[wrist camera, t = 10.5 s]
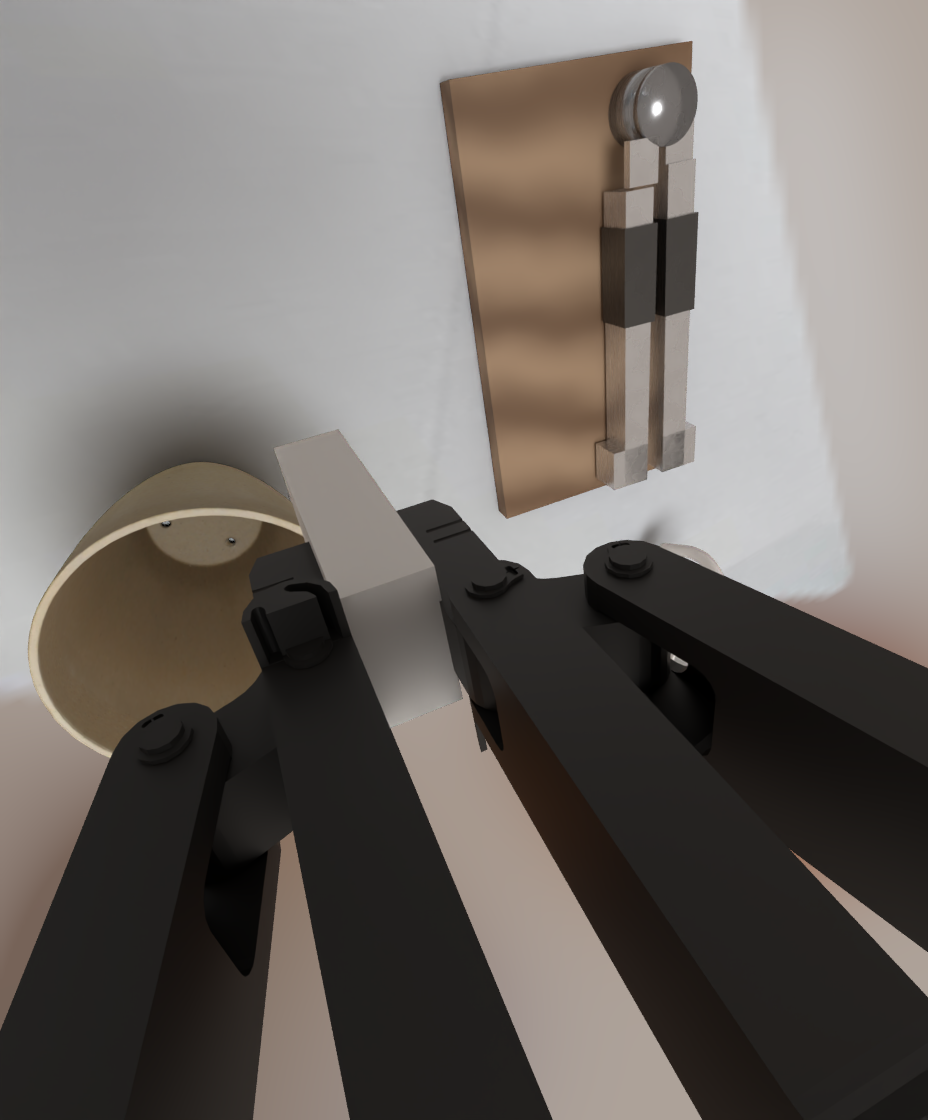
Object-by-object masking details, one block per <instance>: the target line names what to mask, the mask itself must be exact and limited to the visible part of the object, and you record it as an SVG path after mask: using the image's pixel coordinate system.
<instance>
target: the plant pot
mask: <svg viewBox="0 0 928 1120" xmlns="http://www.w3.org/2000/svg"><path fill="white" fill-rule="evenodd" d="M166 521H169V522H170V523H171V524H170V526H168V527H166V526H162V522H166ZM229 538H233V539H234V540H235V543H231V542H230V541H229ZM303 543H305V540H304V537H303V534H302V531H301V528H300V525H299V522H298V519H297V516H296V513H295V510H294V507H293V504H292V502H291V501H289V500H288V499H287V498H285V497H284V496H283V495H282V494H280V493H279V492H278V491H276V490H275V489H273V488H272V487H270V486H269V485H267V484H266V483H264V482H263V481H261V480H259V479H257V478H255V477H253V476H251V475H250V474H248V473H246V472H243V471H241V470H239V469H236V468H233V467H230V466H227V465H222V464H218V463H211V462H193V463H187V464H182V465H178V466H175V467H172V468H169V469H166V470H164V471H162V472H160V473H158V474H156V475H154V476H152V477H150V478H148V479H147V480H145V481H144V482H142V483H141V484H139V485H138V486H136V487H135V488H134V489H132V490H131V491H129V492H128V493H127V494H126V495H124V496H123V497H122V498H121V499H120V500H118V501H117V502H116V503H115V504H114V505H113V506H112V507H111V508H109V510H108V511H107V512H106V513H105V514H104V515H103V516H102V517H101V518H100V519H99V520H98V521H97V522H96V523H95V524H94V525H93V527H92V528H91V529H90V530H89V531H88V533H87V534H86V535H85V536H84V537H83V539H82V540H81V541H80V542H79V544H78V545H77V546H76V548H75V549H74V551H73V552H72V553H71V555H70V556H69V558H68V559H67V560H66V562H65V563H64V565H63V566H62V568H61V569H60V571H59V572H58V574H57V575H56V577H55V578H54V580H53V581H52V583H51V584H50V586H49V587H48V589H47V590H46V592H45V594H44V595H43V597H42V599H41V601H40V603H39V605H38V607H37V609H36V612H35V615H34V617H33V621H32V625H31V629H30V634H29V642H28V660H29V667H30V673H31V676H32V679H33V683H34V686H35V688H36V691H37V693H38V695H39V697H40V699H41V700H42V702H43V704H44V705H45V707H46V708H47V709H48V711H49V712H50V714H51V715H52V716H53V718H54V719H55V720H56V721H57V722H58V723H59V724H60V726H62V727H63V728H64V729H65V730H66V731H67V732H68V733H69V734H70V735H71V736H73V737H74V738H76V739H77V740H78V741H80V742H81V743H83V744H84V745H86V746H87V747H89V748H91V749H92V750H95V751H96V752H98V753H100V754H103V755H105V756H107V757H109V758H111V755H112V753H113V751H114V750H115V748H116V746H117V745H118V743H119V742H120V740H121V738H122V737H123V736H124V735H125V734H126V733H127V732H128V731H129V730H130V729H131V728H132V727H133V726H134V725H136V724H137V723H138V722H139V721H141V720H142V719H144V718H146V717H147V716H149V715H151V714H152V713H154V712H156V711H157V710H160V709H163V708H166V707H169V706H172V705H175V704H181V703H194V702H195V703H198V704H202V705H205V706H208V707H209V708H210V709H211V710H212V711H213V712H215V711H217V710H219V709H220V708H222V707H223V706H225V705H227V704H228V703H230V702H232V701H233V700H234V699H236V698H237V697H238V696H240V695H241V694H243V693H244V692H245V691H246V690H247V689H248V688H249V687H250V686H251V685H252V684H253V683H254V682H255V681H256V679H257V678H258V676H259V675H260V673H261V672H262V670H261V667H260V665H259V663H258V660H257V658H256V656H255V653H254V651H253V649H252V647H251V644H250V642H249V640H248V638H247V635H246V633H245V631H244V628H243V626H242V624H241V621H242V615H243V611H244V610H245V608H246V607H247V606H248V604H249V603H250V602H251V600H252V599H253V593H252V589H251V584H250V579H249V574H250V572H251V570H252V568H253V565H254V563H255V561H256V559H257V558H259V557H262V556H266V555H269V554H272V553H275V552H278V551H281V550H284V549H287V548H290V547H293V546H296V545H300V544H303Z"/></svg>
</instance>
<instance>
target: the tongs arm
mask: <svg viewBox="0 0 928 1120" xmlns="http://www.w3.org/2000/svg"><path fill="white" fill-rule="evenodd" d="M696 109H697V87H696V83H695V80H694V78H693V76H692V74H691V72H690V71H689V70H688V69H687V68H686V67H685V66H684V65H682V64H680V63H676V62H670V63H665V64H661V65H658V66H656V67H654V68H653V69H651V70H650V71H649V72H648V73H647V74H646V75H645V76H644V78H643V79H642V81H641V83H640V84H639V87H638V89H637V92H636V95H635V99H634V105H633V119H634V124H635V128H636V131H637V133H638V135H639V136H640V138H641V139H636V140H630V141H624V188H621V189H616V190H611V191H606V192H603V193H604V227H601V239H602V301H603V322H605V335H606V406H607V440H606V441H603V442H599V443H596V471H597V479H598V480H600V481H601V482H603V483H604V484H606V485H607V486H609V487H610V488H612V489H613V490H616V489H619V488H622V487H625V486H628V485H631V484H634V483H637V482H640V481H643V480H647V463H648V420H649V376H650V333H651V322H653V321H655V304H656V266H657V228H658V222H653V202H654V187H639V186H644V185H649V184H655V183H658V161H659V147H667V146H671V145H673V144H675V143H677V142H678V141H679V140H681V139H682V138H683V137H684V136H685V134H686V133H687V132H688V130H689V128H690V127H691V125H692V122H693V120H694V117H695V114H696Z"/></svg>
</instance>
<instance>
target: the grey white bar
mask: <svg viewBox="0 0 928 1120" xmlns="http://www.w3.org/2000/svg"><path fill="white" fill-rule="evenodd" d="M657 66H658V65H657ZM654 67H656V66H653V67H650V68H646V69H642V70H638V71H634V72H631V73H629V74H627V75H626V76H625V77H623V78H622V79H621V80H620V82H619V83H618V84H617V86H616V87H615V89H614V91H613V94H612V96H611V99H610V104H609V110H608V119H609V126H610V130H611V132H612V135H613V137H614V138H615V140H616V141H617V142H618V143H619V144H620V145H621V146H622V147H624V141H630V140H636V139H641V138H640V136H639V135H638V133H637V131H636V128H635V124H634V119H633V105H634V99H635V95H636V92H637V89H638V87H639V84H640V83H641V81H642V79H643V78H644V76H645V75H646V74H647V73H648V72H649V71H650V70H651V69H653V68H654ZM693 135H694V120H693V122H692V125H691V127H690V128H689V130H688V132H687V133H686V134H685V136H684V137H683V138H682V139H681V140H679V141H678V142H677V143H675V144H673V145H671V146H667V147H659V161H658V183H655V184H649V185H644V187H654V202H653V222H658V228H657V266H656V304H655V321H653V322H651V333H650V376H649V420H648V464H649V465H651V466H653V467H655V468H656V469H658V470H660V471H661V472H664V471H667V470H670V469H673V468H676V467H679V466H681V465H684V464H687V463H690V462H693V461H694V451H695V431H696V426H694V425H692V424H690V423H688V422H685V416H686V391H687V366H688V341H689V316H690V310H691V309H694V298H695V275H696V252H697V229H698V212H694V191H695V166H696V159H693Z"/></svg>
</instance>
